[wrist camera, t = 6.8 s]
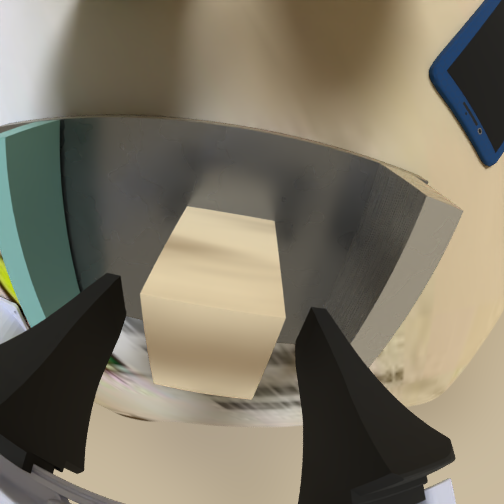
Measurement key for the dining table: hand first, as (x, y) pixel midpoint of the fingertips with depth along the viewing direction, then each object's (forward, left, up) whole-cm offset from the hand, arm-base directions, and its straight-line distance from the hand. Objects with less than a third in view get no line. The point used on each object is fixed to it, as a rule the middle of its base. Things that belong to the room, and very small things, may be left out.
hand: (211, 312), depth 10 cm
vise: (0, +3, -5) cm, 6 cm away
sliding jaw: (0, +10, -4) cm, 11 cm away
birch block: (0, 0, -4) cm, 4 cm away
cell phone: (+16, -14, -6) cm, 22 cm away
